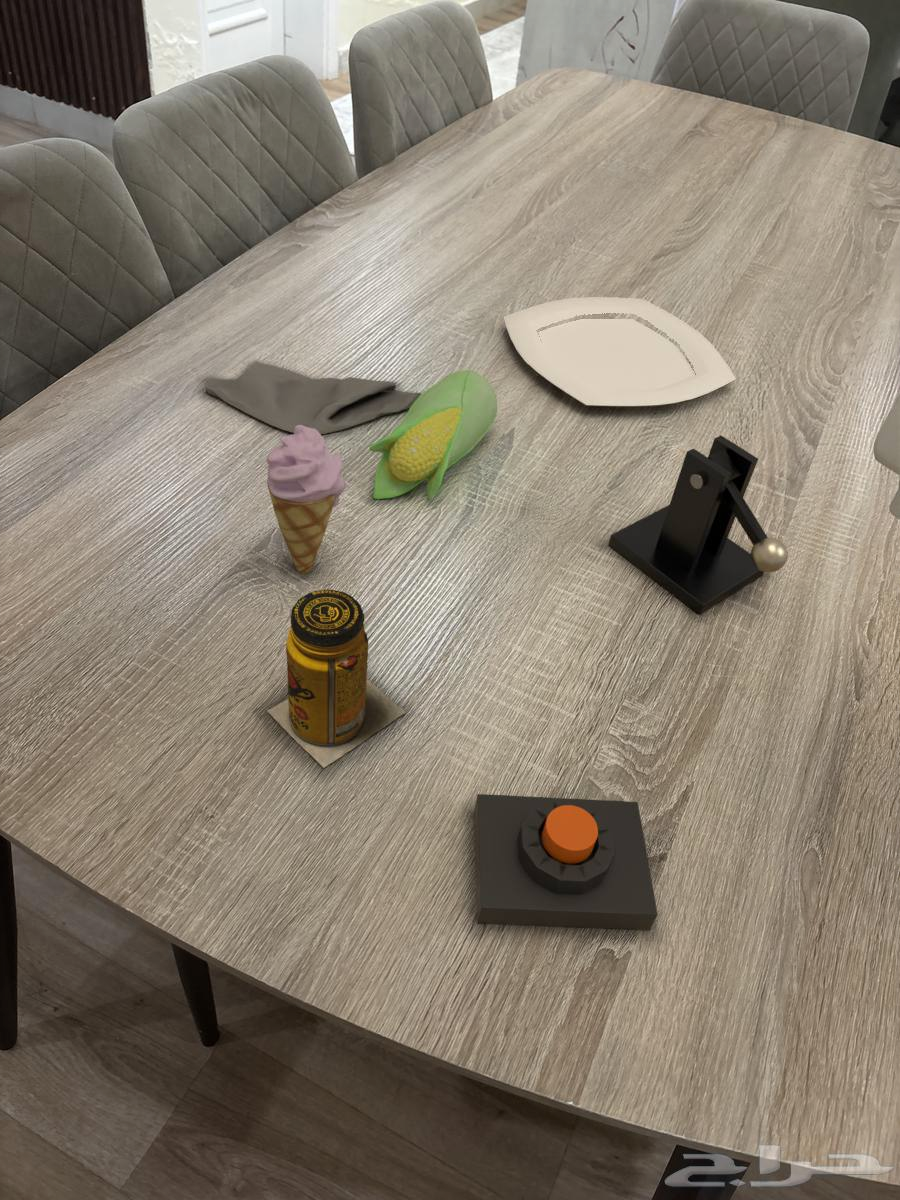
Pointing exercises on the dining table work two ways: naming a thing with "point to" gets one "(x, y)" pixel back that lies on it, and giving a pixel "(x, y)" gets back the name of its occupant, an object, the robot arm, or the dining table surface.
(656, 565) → the ball handle lever stand
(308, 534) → the ice cream cone
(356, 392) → the cloth
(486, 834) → the dark grey button base
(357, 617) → the condiment
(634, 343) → the plate
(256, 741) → the dining table surface
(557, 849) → the power button
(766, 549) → the switch lever
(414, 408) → the corn
